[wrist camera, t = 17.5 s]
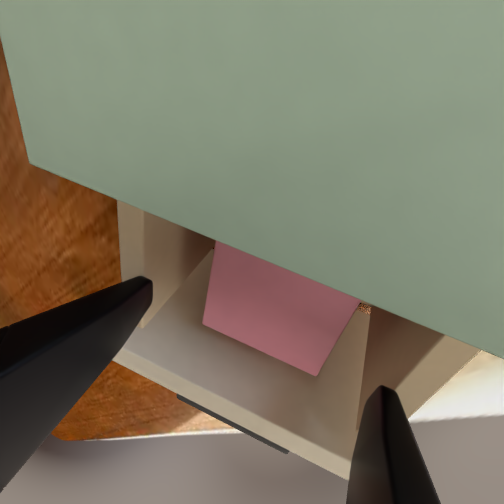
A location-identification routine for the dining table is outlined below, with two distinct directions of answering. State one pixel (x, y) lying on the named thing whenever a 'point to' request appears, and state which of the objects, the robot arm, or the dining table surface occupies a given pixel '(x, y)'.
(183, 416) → the dining table surface
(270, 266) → the block
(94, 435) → the dining table surface
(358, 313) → the drawer
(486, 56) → the cabinet
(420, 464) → the robot arm
